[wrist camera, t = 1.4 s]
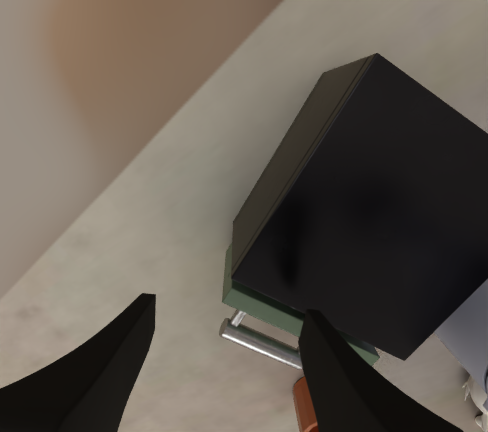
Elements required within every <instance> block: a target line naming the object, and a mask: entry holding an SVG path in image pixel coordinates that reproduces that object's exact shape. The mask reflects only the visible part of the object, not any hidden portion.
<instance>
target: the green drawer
mask: <svg viewBox="0 0 488 432" xmlns="http://www.w3.org/2000/svg"><path fill="white" fill-rule="evenodd" d="M231 263H232V243H231V245H230V246H229V248H228V249H227V251H226V259H225V272H224V284H223V297H222V302H223V303H224V304H227V305H229V306H231V307H233V308H236V309H237V310H236V311H235V313H234V314H233V316H232V317H231V319H229V318H225V319H224V321H223V322H222V324H221V327H220V330H219V336H220V337H222V338H225V339H227V340H230V341H232V342H234V343H237V344H239V345H241V346H244V347H246V348H248V349H251V350H253V351H255V352H258V353H260V354H262V355H265V356H267V357H270V358H272V359H274V360H277V361H279V362H281V363H284V364H286V365H288V366H291V367H293V368H295V369H298V370H299V369H301V368H302V363H301V358H300V351H299V346H298V347H297V348H295V347H292V346H290V345H288V344H286V343H283V342H281V341H279V340H277V339H274V338H272V337H270V336H267V335H265V334H263V333H261V332H258V331H256V330H254V329H252V328H249V327H247V326H245V325H243V324H240V322H241V320H242V319H243V317H244V316H245V315H246V313H247V314H249V315H251V316H253V317H255V318H258V319H260V320H262V321H264V322H267V323H269V324H271V325H273V326H275V327H278V328H280V329H282V330H284V331H286V332H289V333H291V334H293V335H295V336H298V337H300V333H301V329H302V325H303V321H304V317H305V314H304V313H302V312H300V311H298V310H296V309H294V308H292V307H289V306H287V305H285V304H283V303H281V302H279V301H277V300H275V299H273V298H270V297H268V296H266V295H264V294H262V293H260V292H258V291H256V290H253V289H251V288H249V287H247V286H245V285H243V284H241V283H239V282H237V281H234V280H232V279H231ZM335 329H336V328H335ZM336 330H337V331H338V333H339V334H340V335H341V336H342V337H343V338H344V339H345V340H346V341H347V343H348V344H349V345H350V346H351V347H352V348H353V349H354V350H355V351H356V352H357V353H358V354H359V355H360V356H361V357H362V358H363V359H364V360H365V361H366V362H367V363H368V364H369V365H370V366H372V365H373V364H374V363H375V362H376V361H377V360H378V359H379V358H380V356H379V355H378V353H377V351H376V349H375V348H374V346H372V345H370V344H368V343H366V342H363V341H361V340H359V339H357V338H355V337H353V336H351V335H349V334H347V333H344V332H342V331H340V330H338V329H336Z"/></svg>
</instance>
